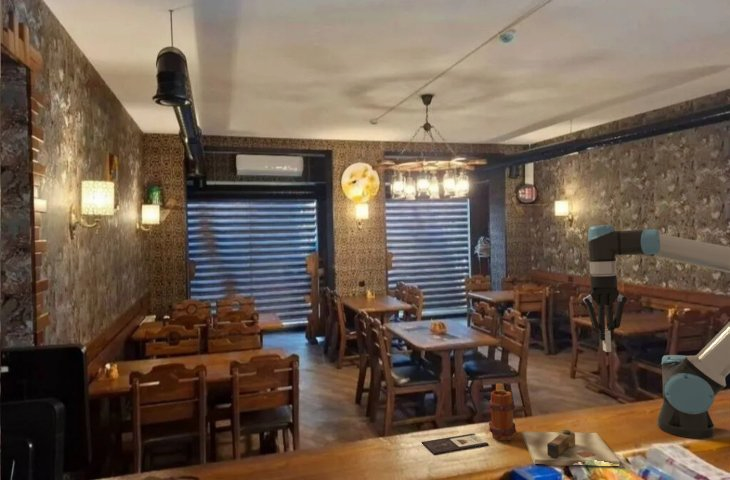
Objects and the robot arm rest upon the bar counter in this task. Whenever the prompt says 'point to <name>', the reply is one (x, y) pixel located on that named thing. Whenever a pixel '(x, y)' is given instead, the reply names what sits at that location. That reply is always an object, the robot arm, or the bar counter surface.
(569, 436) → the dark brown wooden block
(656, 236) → the robot arm
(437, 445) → the chocolate bar
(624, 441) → the bar counter surface
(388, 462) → the bar counter surface
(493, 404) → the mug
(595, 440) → the dial board
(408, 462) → the bar counter surface
